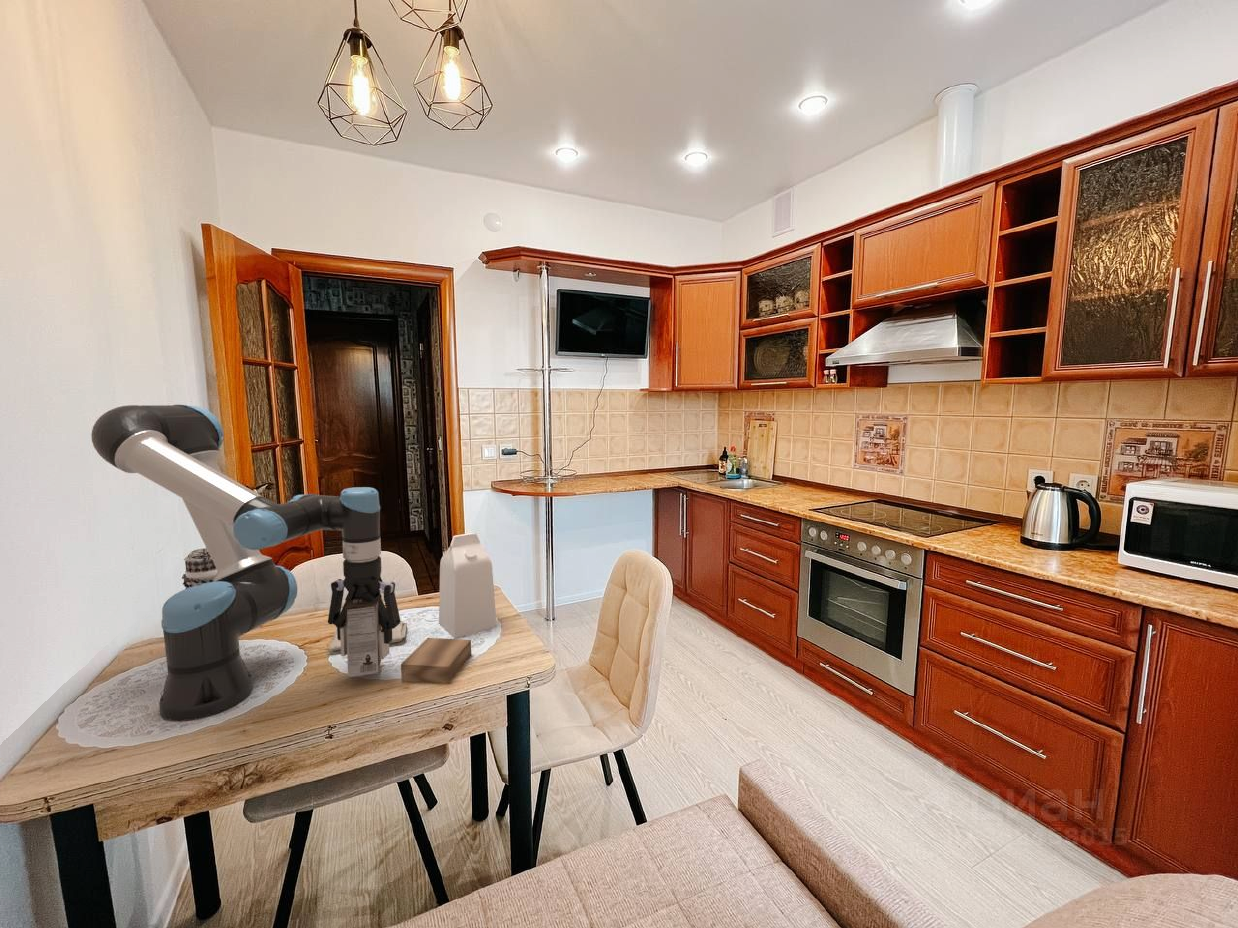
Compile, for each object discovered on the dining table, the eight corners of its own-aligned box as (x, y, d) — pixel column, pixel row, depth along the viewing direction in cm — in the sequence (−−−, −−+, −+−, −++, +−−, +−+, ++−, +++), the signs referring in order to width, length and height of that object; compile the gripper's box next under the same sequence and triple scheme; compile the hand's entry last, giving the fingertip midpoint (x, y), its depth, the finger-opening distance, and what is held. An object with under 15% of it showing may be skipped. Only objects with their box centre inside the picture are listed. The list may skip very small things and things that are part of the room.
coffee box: (352, 657, 118) (350, 591, 116) (382, 653, 121) (380, 588, 119) (347, 678, 110) (344, 607, 108) (379, 673, 112) (377, 603, 110)
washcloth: (406, 646, 131) (405, 634, 130) (327, 658, 124) (326, 646, 124) (407, 627, 142) (407, 616, 141) (335, 637, 135) (334, 626, 135)
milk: (479, 613, 150) (476, 527, 147) (496, 626, 142) (494, 535, 138) (438, 624, 143) (435, 533, 140) (454, 638, 134) (451, 542, 131)
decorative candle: (188, 644, 130) (178, 549, 127) (233, 633, 136) (225, 543, 133) (190, 658, 123) (180, 558, 120) (237, 645, 129) (229, 550, 126)
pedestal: (401, 681, 113) (400, 664, 113) (428, 653, 126) (427, 637, 126) (449, 683, 112) (448, 666, 112) (471, 655, 125) (470, 639, 125)
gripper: (305, 560, 109) (309, 659, 112) (399, 565, 108) (401, 666, 110) (328, 550, 117) (332, 643, 120) (416, 555, 115) (418, 649, 118)
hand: (365, 654), depth 115 cm, fingers closed on coffee box, 8 cm apart
